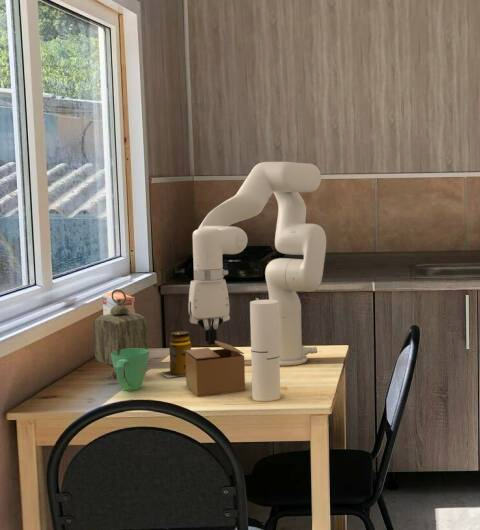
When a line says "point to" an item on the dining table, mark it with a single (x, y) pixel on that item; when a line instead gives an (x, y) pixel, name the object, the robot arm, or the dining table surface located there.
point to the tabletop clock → (118, 332)
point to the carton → (214, 371)
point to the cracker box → (109, 303)
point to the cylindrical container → (265, 350)
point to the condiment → (178, 354)
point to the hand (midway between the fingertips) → (210, 343)
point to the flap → (228, 347)
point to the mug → (130, 367)
